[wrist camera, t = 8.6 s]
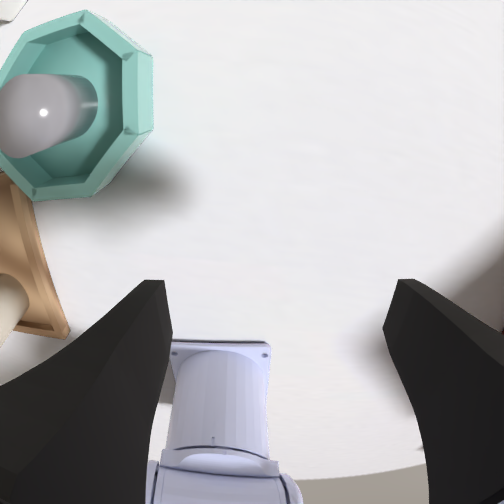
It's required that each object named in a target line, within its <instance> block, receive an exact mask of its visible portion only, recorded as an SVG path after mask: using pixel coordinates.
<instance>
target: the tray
mask: <svg viewBox="0 0 504 504" xmlns="http://www.w3.org/2000/svg"><path fill="white" fill-rule="evenodd" d="M0 274H9V275H11V276H13V277H14V278H15V279H17V280H18V281H19V282H20V283H21V285H22V286H23V287H24V289H25V291H26V292H27V295H28V298H29V308H28V310H27V311H26V313H25V314H24V315H23V317H22V318H21V319H20V321H19V322H18V323H17V325H16V326H15V327H14V329H13V331H18V332H24V333H29V334H34V335H40V336H46V337H52V338H58V339H66V337H67V336H68V334H69V332H70V328H69V325H68V323H67V320H66V318H65V315H64V313H63V310H62V307H61V305H60V302H59V299H58V296H57V293H56V290H55V288H54V285H53V281H52V278H51V275H50V272H49V269H48V266H47V262H46V259H45V255H44V252H43V248H42V244H41V240H40V237H39V233H38V228H37V224H36V220H35V215H34V211H33V206H32V201H31V199H30V198H29V197H28V196H27V195H26V194H25V193H24V192H23V191H22V190H21V189H20V188H19V187H18V186H17V185H16V184H15V183H14V181H13V180H12V179H11V178H10V177H9V176H8V175H7V174H6V173H5V172H0Z"/></svg>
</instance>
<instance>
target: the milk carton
mask: <svg viewBox="0 0 504 504" xmlns="http://www.w3.org/2000/svg"><path fill="white" fill-rule="evenodd" d="M27 1H28V0H0V20H6V21H13V20H14V18H15V17H16V16H17V14H18V13H19V12H20V10H21V9H22V7H23V6H24V5H25V3H26V2H27Z"/></svg>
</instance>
